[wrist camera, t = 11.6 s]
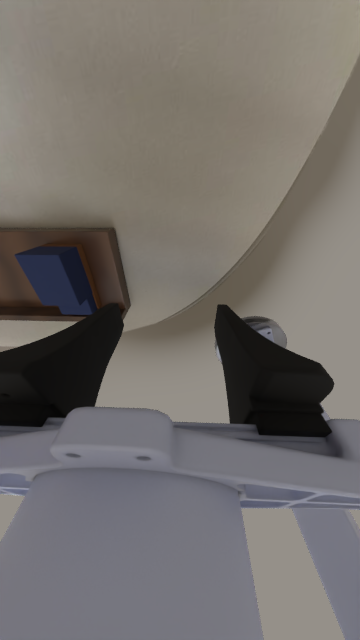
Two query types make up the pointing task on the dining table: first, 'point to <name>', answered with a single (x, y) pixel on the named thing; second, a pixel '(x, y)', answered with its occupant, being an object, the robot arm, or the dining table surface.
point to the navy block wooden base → (61, 277)
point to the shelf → (98, 243)
